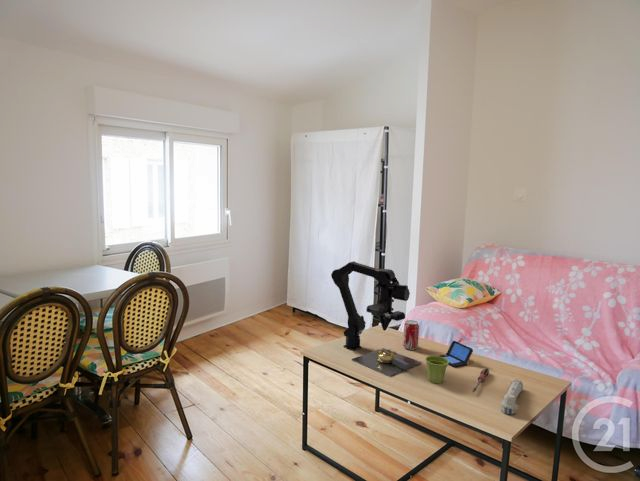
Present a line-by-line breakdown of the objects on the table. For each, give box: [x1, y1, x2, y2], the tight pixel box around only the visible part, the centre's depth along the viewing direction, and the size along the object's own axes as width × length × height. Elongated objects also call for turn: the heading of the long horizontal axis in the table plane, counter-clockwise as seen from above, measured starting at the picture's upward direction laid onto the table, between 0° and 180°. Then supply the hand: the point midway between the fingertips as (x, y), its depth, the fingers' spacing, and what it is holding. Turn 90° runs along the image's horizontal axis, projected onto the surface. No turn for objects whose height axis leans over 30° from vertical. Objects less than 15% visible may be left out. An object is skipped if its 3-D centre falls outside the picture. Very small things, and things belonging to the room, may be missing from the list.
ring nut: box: [378, 348, 410, 371], centre depth 194 cm, size 17×8×4 cm, turn 35°
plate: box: [351, 347, 423, 377], centre depth 198 cm, size 22×22×1 cm
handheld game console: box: [439, 340, 474, 369], centre depth 200 cm, size 12×11×7 cm
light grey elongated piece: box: [500, 379, 524, 415], centre depth 164 cm, size 5×7×25 cm
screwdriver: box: [472, 367, 490, 393], centre depth 178 cm, size 25×3×3 cm, turn 148°
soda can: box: [402, 319, 420, 351], centre depth 215 cm, size 7×7×13 cm
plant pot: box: [424, 355, 449, 384], centre depth 179 cm, size 9×9×9 cm
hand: (384, 330), depth 204 cm, fingers closed
